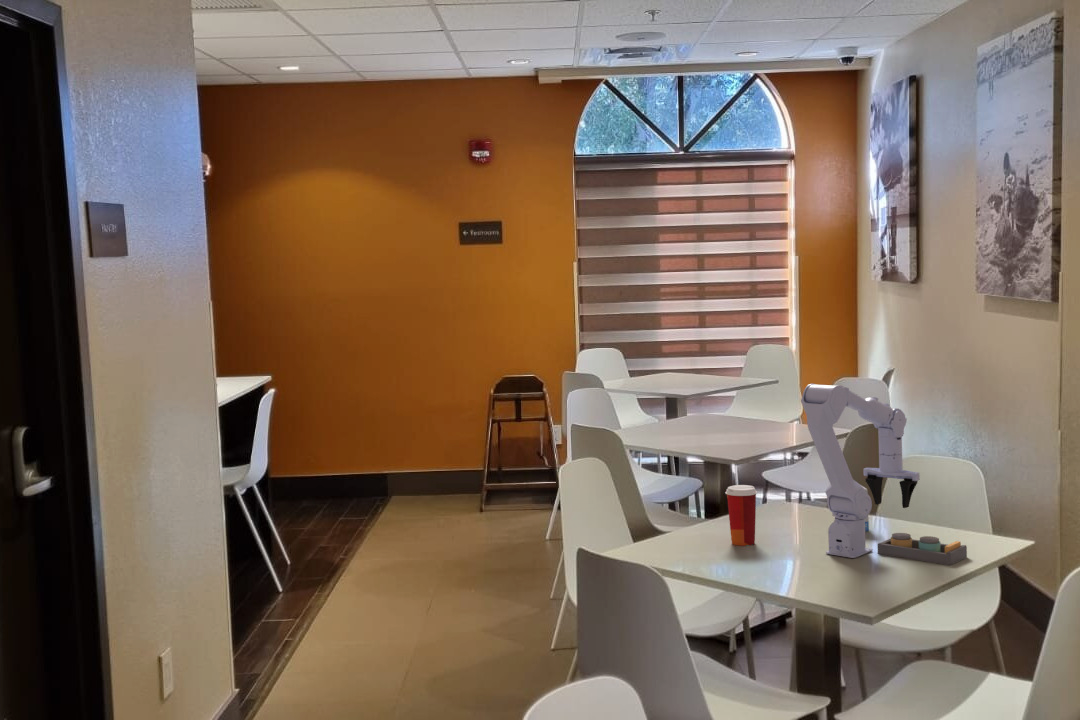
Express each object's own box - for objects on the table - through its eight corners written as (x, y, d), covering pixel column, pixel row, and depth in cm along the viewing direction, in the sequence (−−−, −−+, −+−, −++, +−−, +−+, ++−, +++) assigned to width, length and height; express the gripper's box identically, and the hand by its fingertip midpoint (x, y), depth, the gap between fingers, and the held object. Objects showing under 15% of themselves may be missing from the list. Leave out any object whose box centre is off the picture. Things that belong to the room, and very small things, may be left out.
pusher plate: (949, 563, 240) (948, 547, 240) (945, 562, 241) (944, 546, 241) (961, 557, 244) (960, 541, 244) (956, 557, 245) (956, 541, 245)
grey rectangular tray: (950, 565, 238) (950, 552, 238) (877, 553, 252) (877, 541, 252) (967, 557, 245) (966, 545, 244) (895, 546, 258) (895, 534, 258)
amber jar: (906, 556, 249) (906, 538, 248) (887, 553, 252) (886, 535, 252) (916, 552, 252) (915, 534, 252) (897, 549, 256) (896, 531, 255)
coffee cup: (757, 539, 272) (755, 484, 271) (760, 546, 264) (758, 490, 263) (725, 539, 273) (723, 485, 272) (728, 547, 265) (726, 490, 264)
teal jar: (936, 560, 244) (936, 541, 243) (915, 557, 247) (915, 539, 247) (943, 555, 247) (943, 537, 247) (923, 553, 251) (922, 535, 250)
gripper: (924, 453, 259) (925, 506, 260) (872, 449, 270) (873, 499, 271) (911, 457, 255) (912, 510, 255) (858, 453, 265) (860, 504, 266)
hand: (891, 505), depth 263 cm, fingers open, 7 cm apart
